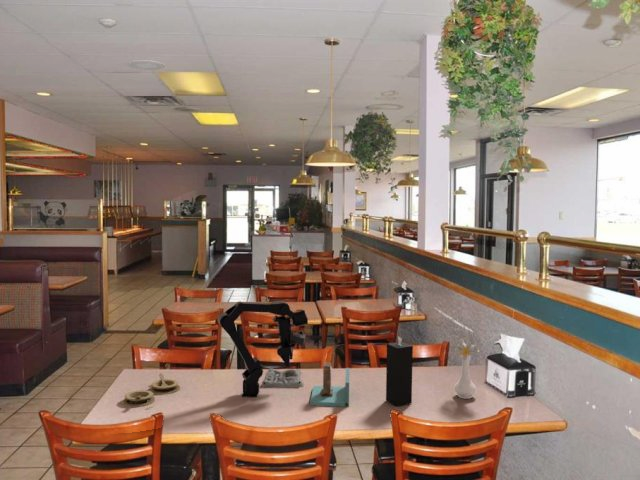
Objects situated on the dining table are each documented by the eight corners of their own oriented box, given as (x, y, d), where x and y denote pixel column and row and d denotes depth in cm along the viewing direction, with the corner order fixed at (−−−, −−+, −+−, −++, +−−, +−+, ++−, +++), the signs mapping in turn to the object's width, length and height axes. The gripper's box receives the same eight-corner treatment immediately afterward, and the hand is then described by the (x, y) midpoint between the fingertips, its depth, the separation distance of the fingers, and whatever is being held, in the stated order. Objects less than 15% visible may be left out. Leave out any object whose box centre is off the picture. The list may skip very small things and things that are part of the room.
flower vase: (469, 388, 250) (470, 334, 248) (486, 403, 231) (488, 344, 230) (441, 389, 248) (443, 334, 246) (457, 404, 230) (458, 345, 228)
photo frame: (320, 396, 234) (321, 366, 233) (321, 391, 240) (321, 362, 239) (332, 396, 234) (332, 366, 233) (332, 391, 240) (333, 362, 239)
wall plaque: (303, 389, 249) (303, 380, 248) (261, 388, 249) (261, 380, 249) (305, 372, 272) (305, 365, 272) (266, 372, 272) (266, 364, 272)
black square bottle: (396, 407, 226) (397, 340, 224) (385, 400, 233) (386, 336, 231) (411, 403, 230) (413, 338, 228) (400, 397, 237) (401, 334, 235)
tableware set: (146, 412, 221) (145, 397, 220) (109, 404, 229) (108, 390, 228) (191, 389, 248) (191, 376, 247) (157, 383, 256) (157, 370, 255)
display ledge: (310, 405, 227) (310, 381, 227) (313, 388, 247) (313, 367, 247) (348, 406, 226) (349, 382, 226) (349, 389, 246) (349, 368, 246)
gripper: (300, 333, 233) (305, 368, 235) (305, 321, 251) (309, 354, 253) (274, 336, 234) (279, 371, 236) (281, 323, 252) (286, 356, 254)
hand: (289, 362), depth 245 cm, fingers open, 9 cm apart
